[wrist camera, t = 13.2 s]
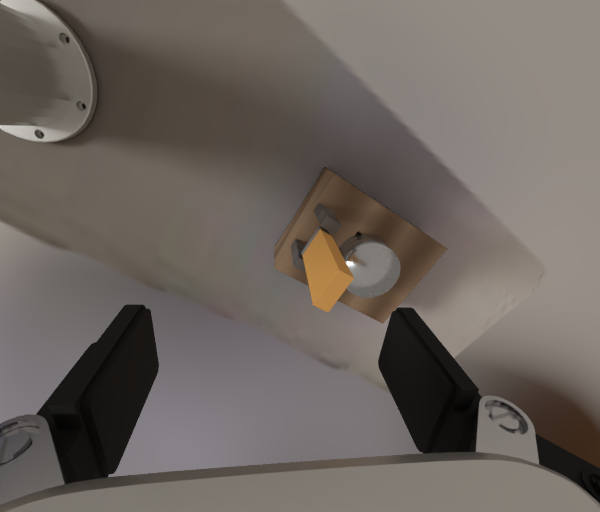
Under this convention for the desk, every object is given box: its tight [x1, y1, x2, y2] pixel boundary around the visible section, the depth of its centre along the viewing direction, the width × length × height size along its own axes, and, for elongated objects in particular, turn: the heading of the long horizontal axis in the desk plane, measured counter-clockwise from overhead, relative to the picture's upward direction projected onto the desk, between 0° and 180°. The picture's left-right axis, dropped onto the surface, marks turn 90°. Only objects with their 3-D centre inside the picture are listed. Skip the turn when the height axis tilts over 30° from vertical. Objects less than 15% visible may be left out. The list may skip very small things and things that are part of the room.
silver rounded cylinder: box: [339, 231, 400, 298], centre depth 33 cm, size 6×6×9 cm
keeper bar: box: [301, 226, 354, 312], centre depth 22 cm, size 9×3×1 cm
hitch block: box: [274, 167, 447, 323], centre depth 32 cm, size 16×12×11 cm
